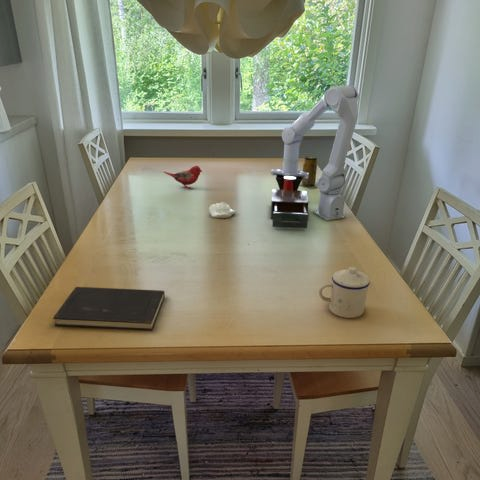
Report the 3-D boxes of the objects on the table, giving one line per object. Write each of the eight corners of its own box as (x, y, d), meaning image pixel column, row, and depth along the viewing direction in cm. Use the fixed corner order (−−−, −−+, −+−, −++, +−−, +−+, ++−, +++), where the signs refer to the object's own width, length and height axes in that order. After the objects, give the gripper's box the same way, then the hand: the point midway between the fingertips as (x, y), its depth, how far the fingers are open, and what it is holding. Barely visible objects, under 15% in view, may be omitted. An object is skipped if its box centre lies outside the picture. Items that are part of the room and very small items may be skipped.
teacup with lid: (360, 301, 125) (367, 260, 119) (367, 319, 118) (376, 277, 112) (314, 300, 125) (319, 259, 119) (319, 318, 118) (324, 275, 112)
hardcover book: (152, 330, 111) (151, 322, 110) (54, 326, 112) (52, 317, 111) (164, 297, 125) (164, 289, 124) (77, 293, 126) (76, 285, 125)
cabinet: (306, 220, 176) (308, 202, 172) (270, 218, 176) (271, 201, 173) (304, 207, 188) (306, 190, 184) (271, 206, 188) (272, 189, 185)
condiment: (308, 181, 219) (310, 154, 212) (322, 186, 213) (325, 158, 207) (296, 184, 215) (299, 156, 209) (310, 188, 209) (313, 160, 203)
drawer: (307, 232, 163) (309, 218, 161) (272, 231, 164) (273, 216, 161) (304, 215, 178) (306, 201, 175) (272, 214, 179) (273, 200, 176)
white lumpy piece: (205, 199, 180) (230, 197, 183) (205, 210, 182) (230, 208, 185) (212, 207, 172) (238, 205, 175) (212, 219, 174) (238, 217, 177)
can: (295, 199, 191) (297, 179, 187) (283, 199, 190) (285, 179, 186) (292, 195, 195) (293, 175, 191) (280, 196, 194) (281, 176, 190)
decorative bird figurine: (201, 191, 203) (201, 167, 198) (162, 187, 207) (161, 163, 202) (203, 189, 205) (203, 165, 200) (165, 185, 209) (164, 161, 204)
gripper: (270, 160, 183) (268, 195, 190) (307, 164, 180) (304, 199, 187) (274, 156, 189) (272, 190, 196) (310, 159, 186) (307, 194, 193)
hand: (288, 194), depth 192 cm, fingers closed on can, 5 cm apart
